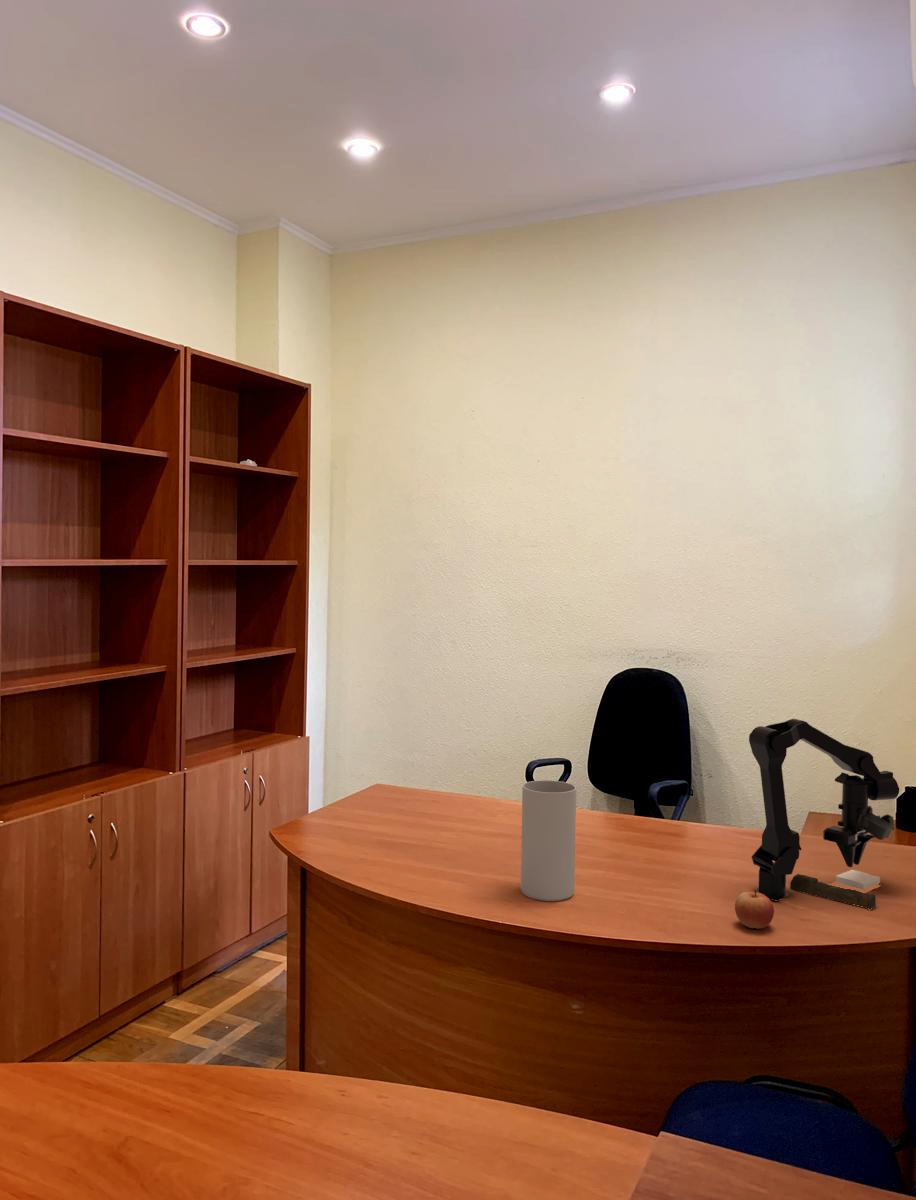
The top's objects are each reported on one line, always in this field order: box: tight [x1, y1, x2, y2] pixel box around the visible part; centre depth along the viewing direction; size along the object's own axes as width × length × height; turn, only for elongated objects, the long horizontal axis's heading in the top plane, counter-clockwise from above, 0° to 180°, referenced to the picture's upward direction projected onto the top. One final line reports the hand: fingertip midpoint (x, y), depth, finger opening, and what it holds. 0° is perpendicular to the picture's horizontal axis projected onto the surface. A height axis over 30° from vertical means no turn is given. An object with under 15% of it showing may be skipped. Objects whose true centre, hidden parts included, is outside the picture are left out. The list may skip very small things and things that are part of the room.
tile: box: [835, 869, 881, 890], centre depth 220 cm, size 2×7×8 cm
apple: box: [734, 888, 775, 930], centre depth 193 cm, size 8×8×8 cm
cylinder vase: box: [520, 779, 577, 902], centre depth 211 cm, size 12×12×25 cm
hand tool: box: [789, 873, 877, 909], centre depth 210 cm, size 19×4×5 cm, turn 46°
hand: (853, 865), depth 218 cm, fingers open, 3 cm apart
